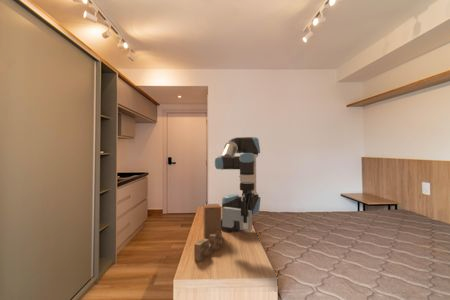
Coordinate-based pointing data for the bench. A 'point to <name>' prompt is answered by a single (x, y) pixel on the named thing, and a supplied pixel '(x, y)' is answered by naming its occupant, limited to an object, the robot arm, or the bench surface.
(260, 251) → the bench surface
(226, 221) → the notched plate
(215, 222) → the wooden block
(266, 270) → the bench surface
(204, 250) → the slotted beam
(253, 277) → the bench surface
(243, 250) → the bench surface
